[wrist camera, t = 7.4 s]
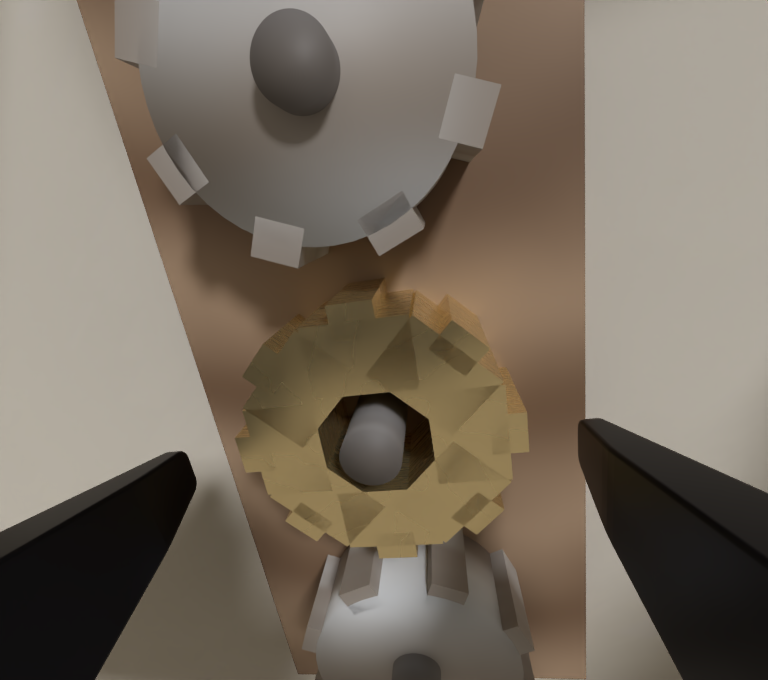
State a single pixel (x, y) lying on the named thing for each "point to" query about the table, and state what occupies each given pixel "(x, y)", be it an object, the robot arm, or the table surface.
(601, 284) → the table surface
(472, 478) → the brass gear
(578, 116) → the gear board
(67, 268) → the table surface
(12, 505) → the table surface
